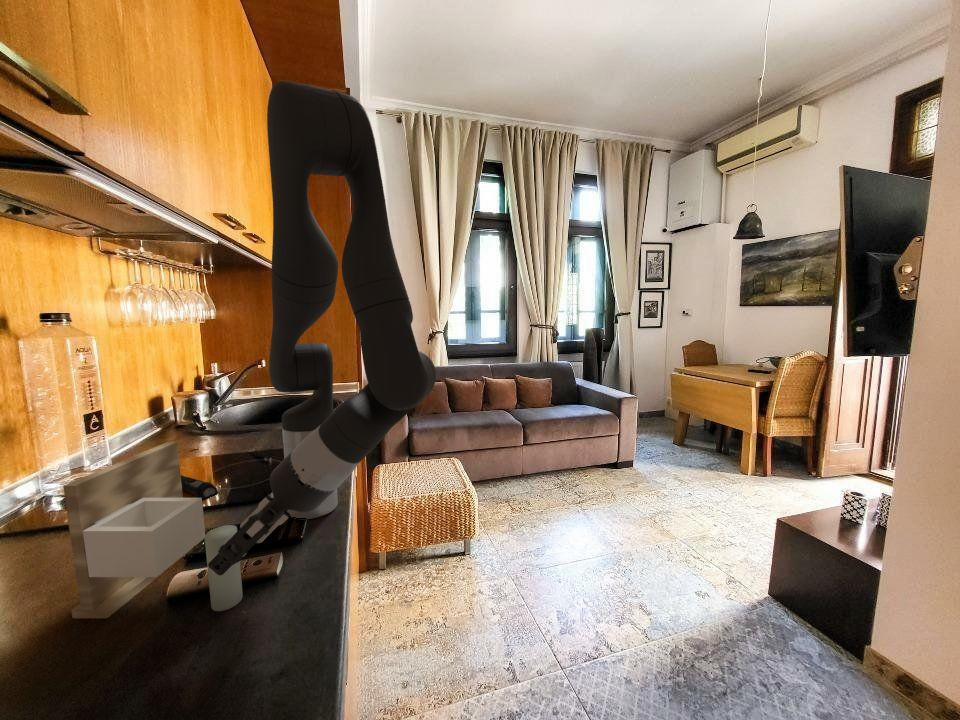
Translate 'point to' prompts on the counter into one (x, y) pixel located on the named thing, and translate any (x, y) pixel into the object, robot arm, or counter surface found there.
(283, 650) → the counter surface
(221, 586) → the pale green rounded cylinder
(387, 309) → the robot arm
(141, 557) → the grey open box
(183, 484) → the electric trimmer
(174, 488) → the oak board
